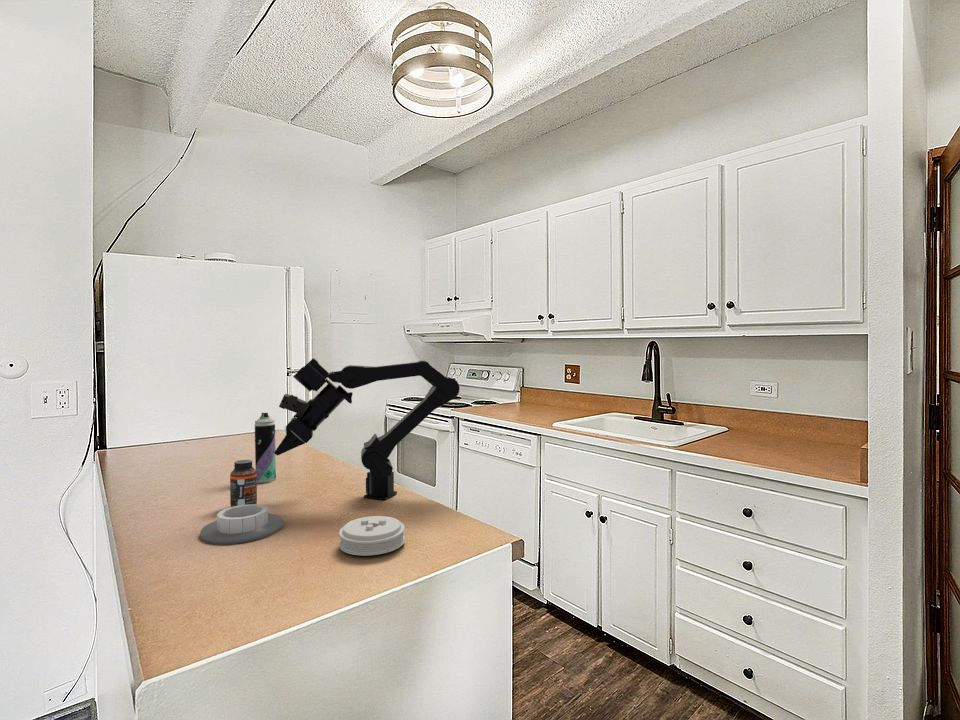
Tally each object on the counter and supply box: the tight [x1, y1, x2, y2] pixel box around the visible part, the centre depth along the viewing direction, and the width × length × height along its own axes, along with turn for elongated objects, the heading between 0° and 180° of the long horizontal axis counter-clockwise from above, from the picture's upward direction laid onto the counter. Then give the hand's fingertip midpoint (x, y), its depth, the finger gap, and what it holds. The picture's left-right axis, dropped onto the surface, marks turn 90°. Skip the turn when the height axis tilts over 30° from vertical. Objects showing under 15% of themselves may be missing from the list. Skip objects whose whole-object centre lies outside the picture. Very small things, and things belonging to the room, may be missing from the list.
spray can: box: [254, 412, 277, 484], centre depth 148 cm, size 6×6×20 cm
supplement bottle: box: [229, 459, 258, 507], centre depth 124 cm, size 6×6×11 cm
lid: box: [338, 515, 406, 557], centre depth 100 cm, size 13×13×5 cm
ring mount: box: [200, 503, 284, 546], centre depth 109 cm, size 16×16×4 cm
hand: (278, 450), depth 126 cm, fingers open, 9 cm apart
